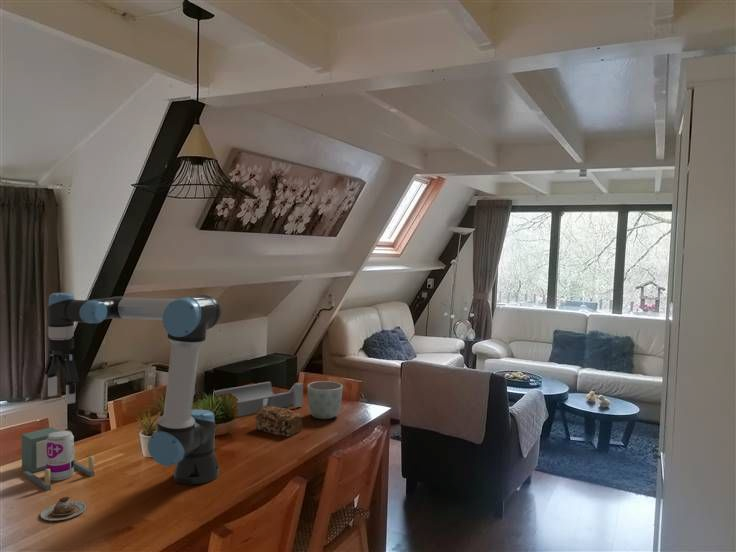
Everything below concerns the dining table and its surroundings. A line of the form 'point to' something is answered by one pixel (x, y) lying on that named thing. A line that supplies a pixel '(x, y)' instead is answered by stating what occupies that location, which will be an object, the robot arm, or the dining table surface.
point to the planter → (324, 399)
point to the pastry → (63, 509)
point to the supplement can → (60, 455)
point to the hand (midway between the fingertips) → (61, 399)
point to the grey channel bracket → (263, 397)
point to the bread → (278, 421)
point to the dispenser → (43, 457)
